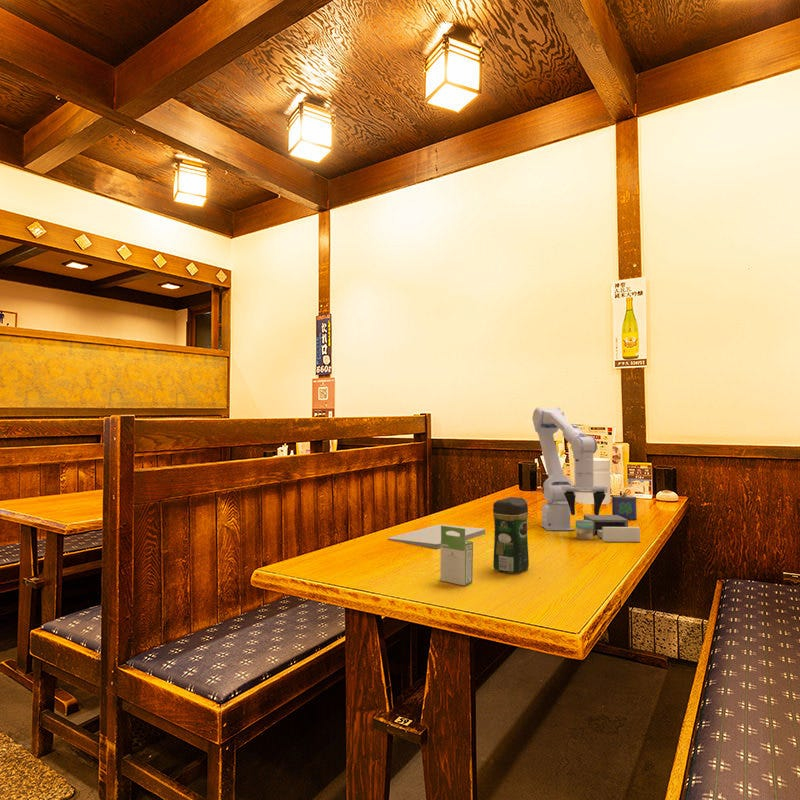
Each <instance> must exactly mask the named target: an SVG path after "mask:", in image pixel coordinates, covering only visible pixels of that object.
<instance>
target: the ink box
mask: <svg viewBox="0 0 800 800" xmlns="http://www.w3.org/2000/svg"><path fill="white" fill-rule="evenodd" d="M448 531H455V532H457V533H459V534H460V536H453V535H447V534H446V532H448ZM473 554H474V542H473V541H470V540H465V529H463V528H456V527H448V526H441V548H440V569H439V570H440V575H439V576H440V579H439V580H440V581H442V582H446V583H451V584H455V585H459V586H464V587H465V586H468V585H471V584H472V583H473V577H474V576H473V574H474V573H473V571H474V570H473V569H474V567H473V565H474V564H473V562H474V558H473V557H474V555H473Z"/></svg>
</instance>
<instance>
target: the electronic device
mask: <svg viewBox="0 0 800 800" xmlns="http://www.w3.org/2000/svg"><path fill="white" fill-rule="evenodd" d="M441 526H448V527H456V528H463V529H465V540H466V541H469V540H471V539H473V538H476V537H480V536H483V535H486V528H481V527H472V526H471V527H469V526H458V525H448V524H435V525H431V526H427V527H424V528H419V529H417V530H413V531H409V532H405V533H401V534H398V535H394V536H391V537H387V540H388V541H391V542H392V541H393V542H397V543H403V544H408V545H414V546H418V547H423V548H428V549H433V550H439V549H440V550H441ZM446 534H447V535H453V536H460V534H459V533H457V532H455V531H448V532H446Z"/></svg>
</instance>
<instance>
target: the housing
mask: <svg viewBox="0 0 800 800" xmlns="http://www.w3.org/2000/svg"><path fill="white" fill-rule="evenodd" d="M583 520H590V521H593V536H596V531H597V530H602V527H629V520H627V519H625V518H623V517H621V516H619V515H612V514H599V515H595V514H583Z"/></svg>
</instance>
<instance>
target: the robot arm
mask: <svg viewBox="0 0 800 800" xmlns="http://www.w3.org/2000/svg"><path fill="white" fill-rule="evenodd" d="M532 422H533V427H534V430H535V431H534V432H535V433H537V435H538V439H539V444H540V447H541V452H542V457H543V460H544V464H545V468H546V473H547V475H548V476H547V477H548V478H547V479H545V480H544V482H543V484H542V485H543V497H544V499H545V501H546V502H547V503H546V502H545V503H543V504H542V507H541V527H543V528H544V530H546V531H575V528H573V527H572V526H571V516H575V515H576V507H575V503H576V502H575V497H576V492H584V493H593V497H594V505H593V513H594V514H593V515H600V509H601V507H602V505H601V504H602V502H603V500H604V498H605V494H604V493H608V487H606V486H594V480H593V458H594V454H595V453H596V452H597V449H598V443H597V440H596V438H595V437H594V436H593V435H587V434H585V432H583V431H582V430H581V429H580V428H579V426H578V424H573V423H572V424H571V423H570V422H569V421H568V420H567V418H566V417H565V412H564V410H562V408H560V407H536V408H535V409H534V410H533V414H532ZM559 430H561V432H562V436H563V438H564V439H565V440H566V441H567V442H568V443H569V444H570V448H571V451H572V454H573V460H574V459H575V486H574V484H573V483H572V480H571V478H568V476H566V475H564V473H563V469H562V464H561V461H560V457H559V452H558V449H557V445H556V442H555V437H554V434H555V433H556V434H557V432H559ZM579 490H591V491H579Z"/></svg>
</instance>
